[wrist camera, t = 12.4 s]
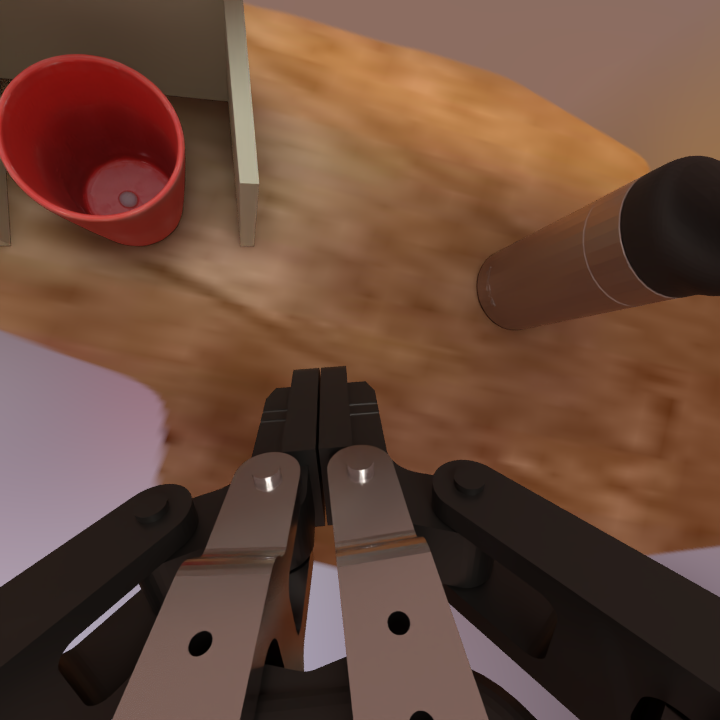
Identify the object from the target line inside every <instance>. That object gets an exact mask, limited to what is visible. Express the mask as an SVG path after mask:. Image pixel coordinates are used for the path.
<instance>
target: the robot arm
mask: <svg viewBox="0 0 720 720" xmlns="http://www.w3.org/2000/svg"><path fill="white" fill-rule="evenodd" d="M477 290H478V296H479V300H480V303H481V305H482V308H483V309H484V311H485V313H486V314H487V316H488V317H489V318H490V319H491V320H492V321H493V322H495V323H496V324H497V325H499V326H501V327H503V328H506V329H510V330H521V329H526V328H531V327H536V326H541V325H547V324H552V323H557V322H562V321H567V320H572V319H577V318H582V317H587V316H592V315H597V314H602V313H607V312H612V311H617V310H622V309H627V308H631V307H636V306H641V305H645V304H650V303H655V302H660V301H666V300H671V299H676V298H682V297H687V296H693V295H707V296H720V161H718V160H716V159H713V158H710V157H705V156H688V157H684V158H680V159H677V160H674V161H672V162H669V163H667V164H665V165H663V166H661V167H659V168H657V169H655V170H653V171H651V172H650V173H648V174H646V175H644V176H642V177H640V178H638V179H636V180H634V181H632V182H630V183H628V184H626V185H625V186H623V187H621V188H619V189H617V190H615V191H613V192H611V193H609V194H607V195H606V196H604V197H602V198H600V199H598V200H596V201H594V202H592V203H590V204H588V205H587V206H585V207H583V208H581V209H579V210H577V211H575V212H573V213H571V214H569V215H567V216H565V217H563V218H562V219H560V220H558V221H556V222H554V223H552V224H550V225H548V226H546V227H544V228H542V229H540V230H539V231H537V232H535V233H533V234H531V235H529V236H527V237H525V238H523V239H521V240H519V241H517V242H515V243H513V244H511V245H510V246H508V247H506V248H504V249H502V250H500V251H498V252H496V253H495V254H493V255H491V256H490V257H489V258H488V259H487V260H486V261H485V263H484V264H483V266H482V267H481V270H480V272H479V276H478V282H477ZM325 506H326V515H327V523H328V525H333V530H334V539H335V549H336V560H337V569H338V578H339V588H340V598H341V607H342V617H343V626H344V635H345V645H346V654H347V657H344V658H342V659H339V660H337V661H335V662H332V663H330V664H327V665H325V666H323V667H320V668H318V669H316V670H313V671H308V672H304V657H303V655H304V638H305V630H306V620H307V612H308V604H309V595H310V585H311V578H312V569H313V561H314V554H313V547H314V533H315V527H317V526H325ZM138 584H139V585H140V587H141V590H140V591H139V592H138V593H136V594H135V595H134V596H133V597H132V598H131V599H129V600H128V601H127V602H126V603H125V604H124V605H123V606H121V607H120V608H119V609H118V610H117V611H116V612H115V613H113V614H112V615H111V616H110V617H109V618H108V619H106V620H105V621H104V622H103V623H102V624H101V625H100V626H98V627H97V628H96V629H95V630H94V631H93V632H91V633H90V634H89V635H88V636H87V637H86V638H85V639H83V640H82V641H81V642H80V643H79V644H78V645H76V646H75V647H74V648H72V649H71V650H69V651H67V652H65V653H63V652H64V650H65V649H66V647H67V646H68V645H69V644H70V643H71V642H72V641H73V640H74V639H75V638H76V637H77V636H78V635H79V634H80V633H82V632H83V631H84V630H85V629H86V628H87V627H89V626H90V625H91V624H92V623H93V622H94V621H96V620H97V619H98V618H99V617H100V616H101V615H103V614H104V613H105V612H106V611H107V610H109V608H111V607H112V606H113V605H114V604H116V603H117V602H118V601H119V600H120V599H121V598H122V597H124V596H125V595H126V594H127V593H128V592H130V591H131V590H132V589H133V588H134V587H135V586H137V585H138ZM449 604H450V605H452V606H453V607H454V608H455V609H456V610H457V611H458V612H459V613H460V614H462V615H463V616H464V617H465V618H466V619H467V620H468V621H469V622H471V623H472V624H473V625H474V626H475V627H476V628H477V629H479V630H480V631H481V632H482V633H483V634H484V635H485V636H487V638H489V639H490V640H491V641H492V642H493V643H494V644H495V645H496V646H498V647H499V648H500V649H501V650H502V651H503V652H504V653H505V654H507V655H508V656H509V657H510V658H511V659H512V660H513V661H515V662H516V663H517V664H518V665H519V666H520V667H521V668H522V669H523V670H525V671H526V672H527V673H528V674H529V675H530V676H531V677H532V678H533V679H535V680H536V681H537V682H538V683H539V684H540V685H541V686H542V687H544V688H545V689H546V690H547V691H548V692H549V693H550V694H551V695H553V696H554V697H555V698H556V699H557V700H558V701H559V702H560V703H562V704H563V705H564V706H565V707H566V708H567V709H568V710H569V711H571V712H572V713H573V714H574V715H575V716H576V717H577V718H578V719H580V720H720V597H718V596H717V595H715V594H713V593H711V592H710V591H708V590H706V589H704V588H702V587H701V586H699V585H697V584H695V583H693V582H692V581H690V580H688V579H686V578H685V577H683V576H681V575H679V574H678V573H676V572H674V571H672V570H670V569H669V568H667V567H665V566H663V565H662V564H660V563H658V562H656V561H654V560H653V559H651V558H649V557H647V556H646V555H644V554H642V553H640V552H639V551H637V550H635V549H633V548H631V547H630V546H628V545H626V544H624V543H623V542H621V541H619V540H617V539H615V538H614V537H612V536H610V535H608V534H607V533H605V532H603V531H601V530H599V529H598V528H596V527H594V526H592V525H591V524H589V523H587V522H585V521H583V520H582V519H580V518H578V517H576V516H575V515H573V514H571V513H569V512H568V511H566V510H564V509H562V508H560V507H559V506H557V505H555V504H553V503H552V502H550V501H548V500H546V499H544V498H543V497H541V496H539V495H537V494H536V493H534V492H532V491H530V490H528V489H527V488H525V487H523V486H521V485H520V484H518V483H516V482H514V481H513V480H511V479H509V478H507V477H505V476H504V475H502V474H500V473H498V472H497V471H495V470H493V469H491V468H489V467H488V466H486V465H483V464H481V463H478V462H474V461H469V460H456V461H451V462H448V463H445V464H443V465H442V466H440V467H439V468H438V469H437V470H436V472H435V473H434V475H429V474H423V473H417V472H412V471H409V470H407V469H404V468H402V467H400V466H399V465H397V464H396V463H395V462H394V461H393V460H392V459H391V458H390V456H389V455H388V453H387V450H386V445H385V440H384V435H383V430H382V425H381V420H380V415H379V410H378V405H377V400H376V395H375V390H374V389H373V388H372V387H371V386H370V385H369V384H368V383H367V382H366V381H364V382H351V383H347V373H346V366H339V367H325V368H321V377H320V370H319V368H313V369H300V370H294V371H293V377H292V383H291V387H287V388H276V389H275V390H274V391H273V392H272V393H271V394H270V396H269V397H268V398H267V399H266V402H265V406H264V410H263V414H262V418H261V423H260V426H259V430H258V434H257V438H256V442H255V446H254V450H253V454H252V458H251V459H249V460H247V461H246V462H244V463H243V464H242V465H241V466H240V467H239V468H238V469H237V471H236V472H235V474H234V477H233V479H232V482H231V484H230V485H228V486H226V487H224V488H222V489H219V490H216V491H213V492H210V493H207V494H204V495H201V496H198V497H195V498H192V497H191V494H190V492H189V491H188V490H187V489H186V488H185V487H183V486H180V485H176V484H164V485H159V486H155V487H152V488H149V489H147V490H144V491H142V492H140V493H138V494H137V495H135V496H134V497H132V498H131V499H129V500H128V501H126V502H125V503H123V504H122V505H120V506H119V507H118V508H116V509H115V510H113V511H112V512H110V513H109V514H107V515H106V516H104V517H103V518H101V519H100V520H98V521H97V522H95V523H94V524H93V525H91V526H90V527H88V528H87V529H85V530H84V531H82V532H81V533H79V534H78V535H76V536H75V537H73V538H72V539H71V540H69V541H68V542H66V543H65V544H63V545H62V546H60V547H59V548H58V549H56V550H54V551H53V552H51V553H50V554H48V555H47V556H45V557H44V558H43V559H41V560H40V561H38V562H37V563H35V564H34V565H33V566H31V567H29V568H28V569H26V570H25V571H24V572H22V573H21V574H19V575H18V576H16V577H15V578H13V579H12V580H10V581H9V582H7V583H6V584H4V585H3V586H2V587H0V720H537V719H536V718H535V717H534V716H533V715H532V714H531V713H530V712H529V711H528V710H527V709H526V708H525V707H524V706H523V705H522V704H521V703H520V702H518V701H517V700H516V699H515V698H514V697H513V696H512V695H510V694H509V693H508V692H507V691H505V690H504V689H503V688H502V687H501V686H499V685H497V684H496V683H495V682H493V681H491V680H490V679H488V678H487V677H485V676H484V675H482V674H480V673H478V672H475V671H473V670H472V669H471V667H470V664H469V661H468V659H467V656H466V653H465V650H464V647H463V644H462V641H461V638H460V635H459V632H458V630H457V627H456V624H455V621H454V618H453V615H452V612H451V609H450V606H449ZM62 653H63V654H62Z"/></svg>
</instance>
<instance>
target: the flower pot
mask: <svg viewBox="0 0 720 720" xmlns="http://www.w3.org/2000/svg"><path fill="white" fill-rule="evenodd" d="M0 158H1V160H2V162H3V164H4V166H5V168H6V170H7V171H8V173H9V174H10V176H11V177H12V179H13V180H14V181H15V182H16V184H17V185H18V186H19V187H20V188H21V189H22V190H23V191H24V192H25V193H26V194H27V195H28V196H29V197H31V198H32V199H33V200H34V201H36V202H37V203H38V204H40V205H41V206H43V207H44V208H46V209H47V210H49V211H51V212H53V213H55V214H57V215H59V216H61V217H62V218H64V219H67V220H69V221H71V222H73V223H75V224H77V225H79V226H81V227H83V228H85V229H87V230H89V231H92V232H94V233H96V234H98V235H101V236H103V237H105V238H108V239H110V240H112V241H115V242H117V243H120V244H124V245H131V246H145V245H150V244H153V243H156V242H158V241H160V240H162V239H164V238H165V237H167V236H168V235H169V234H170V233H171V232H173V230H174V229H175V228H176V227H177V225H178V223H179V221H180V218H181V215H182V210H183V202H184V189H185V141H184V135H183V130H182V126H181V123H180V121H179V118H178V116H177V114H176V112H175V110H174V108H173V106H172V105H171V103H170V102H169V100H168V99H167V97H166V96H165V95H164V94H163V93H162V91H161V90H160V89H159V88H158V87H157V86H156V85H155V84H154V83H152V82H151V81H150V80H149V79H147V78H146V77H145V76H144V75H142V74H141V73H139V72H138V71H136V70H134V69H132V68H130V67H128V66H126V65H124V64H122V63H120V62H117V61H115V60H112V59H108V58H105V57H100V56H94V55H87V54H66V55H60V56H54V57H50V58H47V59H44V60H41V61H39V62H37V63H35V64H33V65H31V66H29V67H28V68H26V69H24V70H23V71H22V72H21V73H19V74H18V75H17V76H16V77H15V78H14V79H13V80H12V81H11V82H10V83H9V84H8V86H7V87H6V89H5V90H4V92H3V94H2V96H1V98H0Z"/></svg>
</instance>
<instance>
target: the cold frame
mask: <svg viewBox="0 0 720 720" xmlns="http://www.w3.org/2000/svg"><path fill="white" fill-rule="evenodd" d="M66 54H87V55H94V56H100V57H105V58H108V59H112V60H115V61H117V62H120V63H122V64H124V65H126V66H128V67H130V68H132V69H134V70H136V71H138V72H139V73H141V74H142V75H144V76H145V77H146V78H147V79H149V80H150V81H151V82H152V83H154V84H155V85H156V86H157V87H158V88H159V89H160V90H161V91H162V93H163V94H164V95H169V96H179V97H189V98H198V99H208V100H218V101H227V102H228V107H229V119H230V130H231V142H232V153H233V165H234V176H235V188H236V200H237V211H238V223H239V234H240V246H254V239H255V227H256V216H257V204H258V192H259V176H258V165H257V154H256V142H255V131H254V120H253V108H252V97H251V86H250V74H249V63H248V52H247V41H246V29H245V18H244V7H243V0H0V78H5V79H14V78H15V77H16V76H17V75H18V74H19V73H21V72H22V71H23V70H24V69H26V68H28V67H29V66H31V65H33V64H35V63H37V62H39V61H41V60H44V59H47V58H50V57H54V56H60V55H66ZM0 98H1V90H0ZM0 246H11V241H10V226H9V211H8V196H7V180H6V168H5V166H4V164H3V162H2V160H1V158H0Z"/></svg>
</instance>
